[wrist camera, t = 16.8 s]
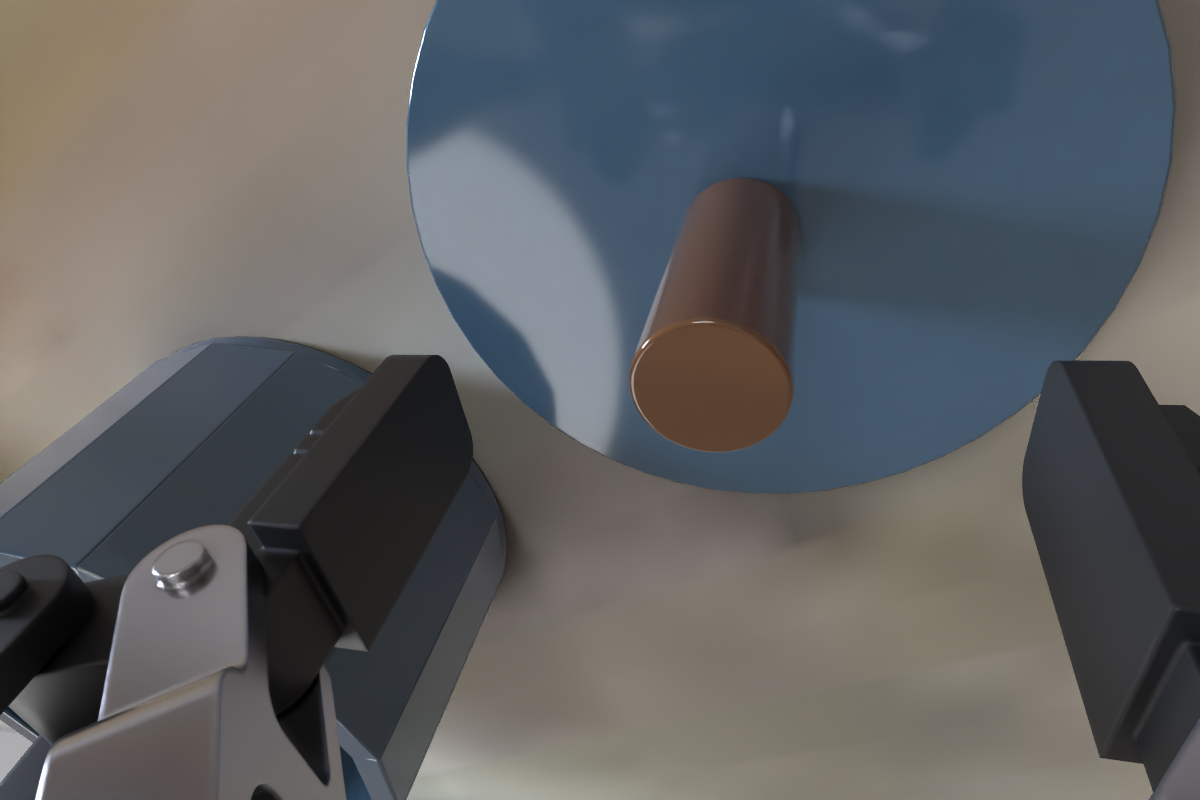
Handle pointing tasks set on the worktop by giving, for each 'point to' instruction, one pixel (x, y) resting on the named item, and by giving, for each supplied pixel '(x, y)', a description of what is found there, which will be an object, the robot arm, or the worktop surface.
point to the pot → (220, 490)
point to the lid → (785, 216)
